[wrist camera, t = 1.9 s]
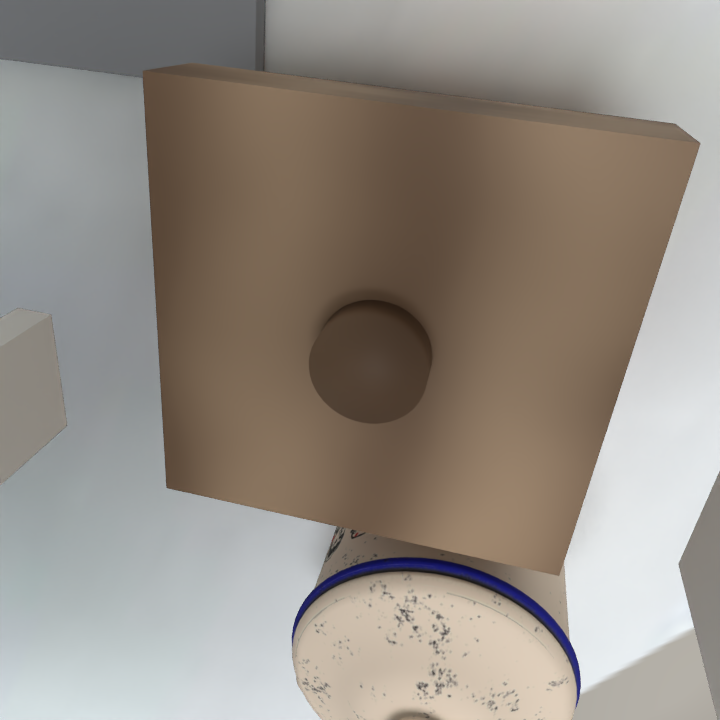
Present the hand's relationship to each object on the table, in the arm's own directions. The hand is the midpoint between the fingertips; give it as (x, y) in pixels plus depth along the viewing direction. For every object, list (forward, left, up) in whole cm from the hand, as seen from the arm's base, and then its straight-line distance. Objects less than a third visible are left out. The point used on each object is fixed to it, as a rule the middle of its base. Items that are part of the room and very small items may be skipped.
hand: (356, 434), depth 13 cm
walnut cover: (0, 0, -6) cm, 6 cm away
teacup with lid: (+2, -12, -12) cm, 17 cm away
